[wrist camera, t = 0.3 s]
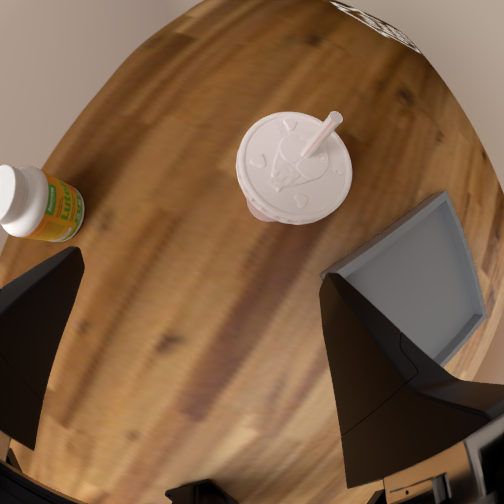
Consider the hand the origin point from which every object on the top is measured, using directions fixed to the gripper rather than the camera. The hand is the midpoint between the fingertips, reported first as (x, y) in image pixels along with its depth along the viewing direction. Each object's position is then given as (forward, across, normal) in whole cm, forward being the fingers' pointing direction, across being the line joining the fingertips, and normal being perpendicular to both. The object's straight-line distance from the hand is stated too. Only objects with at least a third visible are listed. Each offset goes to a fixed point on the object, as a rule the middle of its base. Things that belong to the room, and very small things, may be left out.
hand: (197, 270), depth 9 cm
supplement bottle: (+13, +15, +6) cm, 20 cm away
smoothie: (+14, -4, +4) cm, 15 cm away
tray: (+10, -21, +10) cm, 25 cm away
